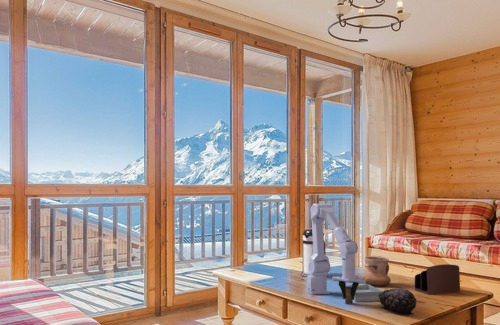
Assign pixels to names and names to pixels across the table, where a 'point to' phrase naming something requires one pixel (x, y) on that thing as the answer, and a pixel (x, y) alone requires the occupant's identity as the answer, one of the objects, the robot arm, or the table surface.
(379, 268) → the ceramic jug
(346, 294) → the walnut peg
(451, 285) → the letter holder
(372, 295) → the slate box
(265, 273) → the table surface
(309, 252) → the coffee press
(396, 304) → the pine cone
